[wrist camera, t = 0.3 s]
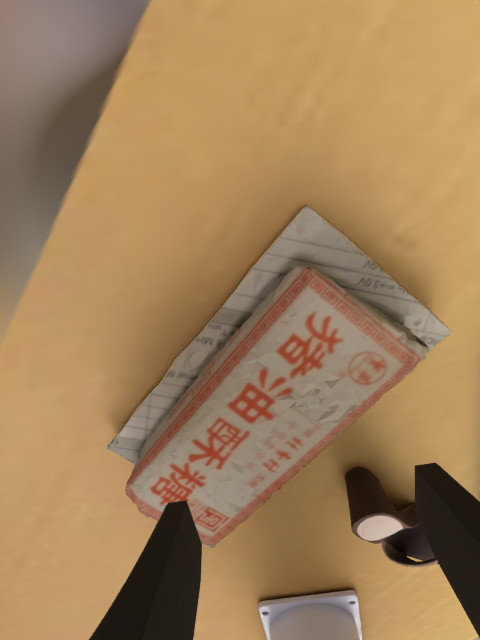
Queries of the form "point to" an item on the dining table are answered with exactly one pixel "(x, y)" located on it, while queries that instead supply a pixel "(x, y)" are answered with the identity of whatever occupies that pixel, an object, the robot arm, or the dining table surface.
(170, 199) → the dining table surface
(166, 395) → the packaged product
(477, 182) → the dining table surface
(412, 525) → the heeled mule
